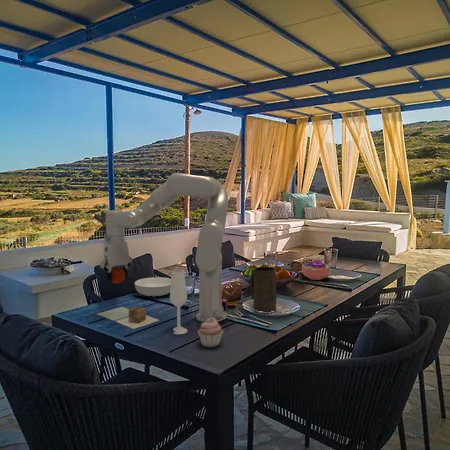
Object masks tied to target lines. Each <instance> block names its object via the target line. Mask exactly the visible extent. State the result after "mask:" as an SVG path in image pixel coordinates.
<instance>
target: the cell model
mask: <svg viewBox="0 0 450 450" xmlns="http://www.w3.org/2000/svg"><path fill="white" fill-rule="evenodd" d="M301 271H302V274H303V275H304V276H305V277H306V278H308V279H309V280H313V281H321V280H323V279H326V278H327V277H329V275H330V272H331V266H330V264H328V263H324V262H323V261H321V260H319V259H314V260H313V261H312V262H305V263H302V265H301Z"/></svg>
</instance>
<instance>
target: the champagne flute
mask: <svg viewBox="0 0 450 450" xmlns="http://www.w3.org/2000/svg"><path fill="white" fill-rule="evenodd" d="M170 277H171V278H170V279H171V289H170V293H169V301H170V302H171V304H172V306H174V307H176V310H177V311H176V315H177V316H176V317H177V318H176V319H177V322H176V323H177V326H176V327H173V329H172V330H173V331H172V334H173V335H184V334H186V333H188V329H187V328H185V327H183V326H182V325H181V307H183V306H184V304H185V303H186V302H187V301H188V295H187V294H188V293H187V283H186V275H185V270H184V269H173V270H171V276H170Z"/></svg>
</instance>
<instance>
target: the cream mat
mask: <svg viewBox="0 0 450 450" xmlns="http://www.w3.org/2000/svg"><path fill="white" fill-rule="evenodd" d="M159 321H160V319H158V318H155V317H151V316H149V315H147V314H146V320H144V321H143V322H141V323H133V322H129V316H128V317H124V318H121V319H118V320H115V323H118V324H121V325H123V326H125V327H128V328H129V329H133V330H135V329H138V328H142V327H145V326H147V325H150V324H153V323H156V322H159Z"/></svg>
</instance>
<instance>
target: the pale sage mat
mask: <svg viewBox="0 0 450 450" xmlns="http://www.w3.org/2000/svg"><path fill="white" fill-rule="evenodd" d="M130 309H131V308H130ZM130 309H129V308H127V307H124V306H120V307H116V308H112V309H110V310H105V311H103V312H102V311H101V312H99V313H96V316H101V317H103V318H106V319H108V320H111V321H117V320H121V319H124V318H127V317H129V311H128V310H130Z"/></svg>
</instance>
